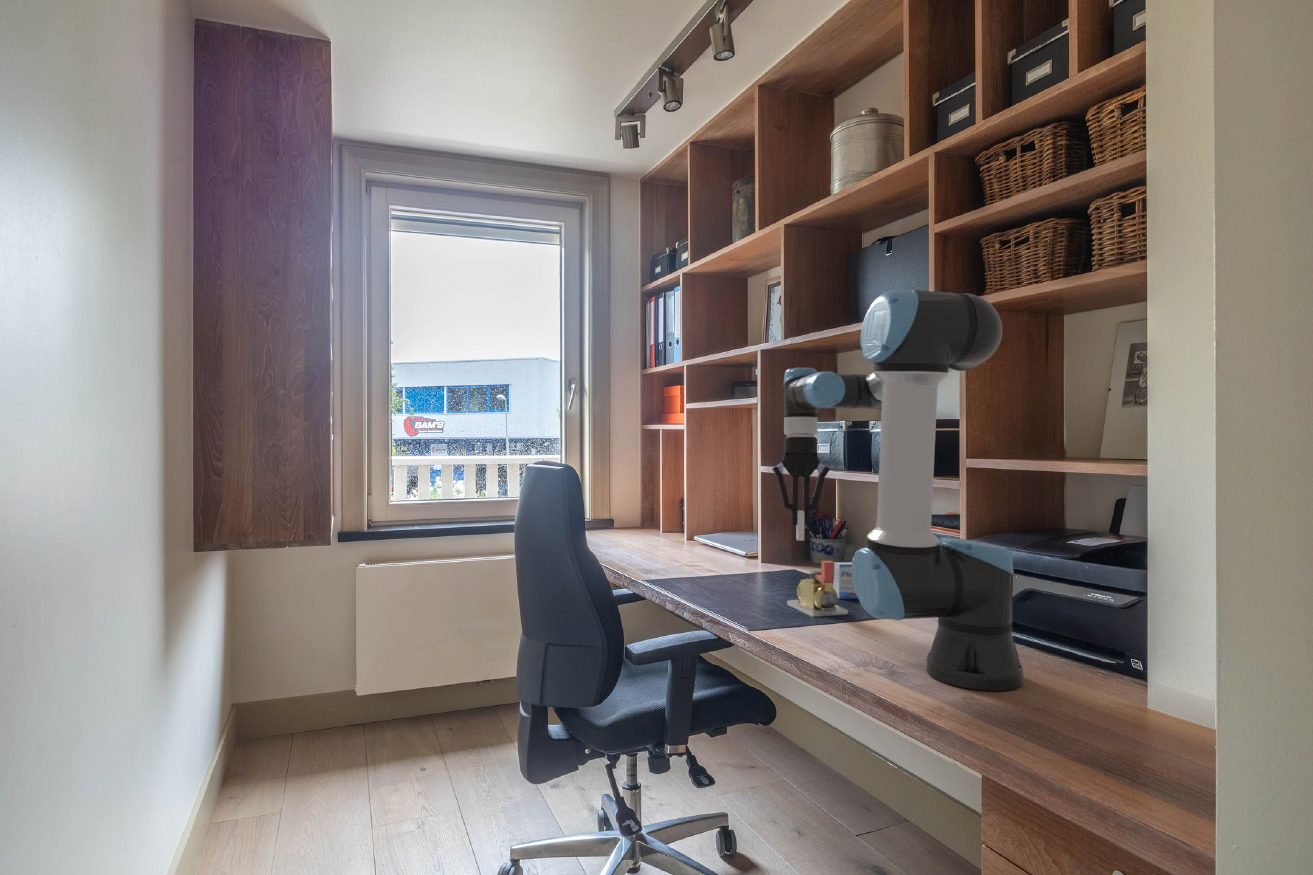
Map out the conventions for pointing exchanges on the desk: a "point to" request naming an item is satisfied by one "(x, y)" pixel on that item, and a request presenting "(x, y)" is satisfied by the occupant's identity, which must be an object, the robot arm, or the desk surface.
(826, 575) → the lever
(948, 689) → the desk surface
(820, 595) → the valve fixture
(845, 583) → the medicine box
